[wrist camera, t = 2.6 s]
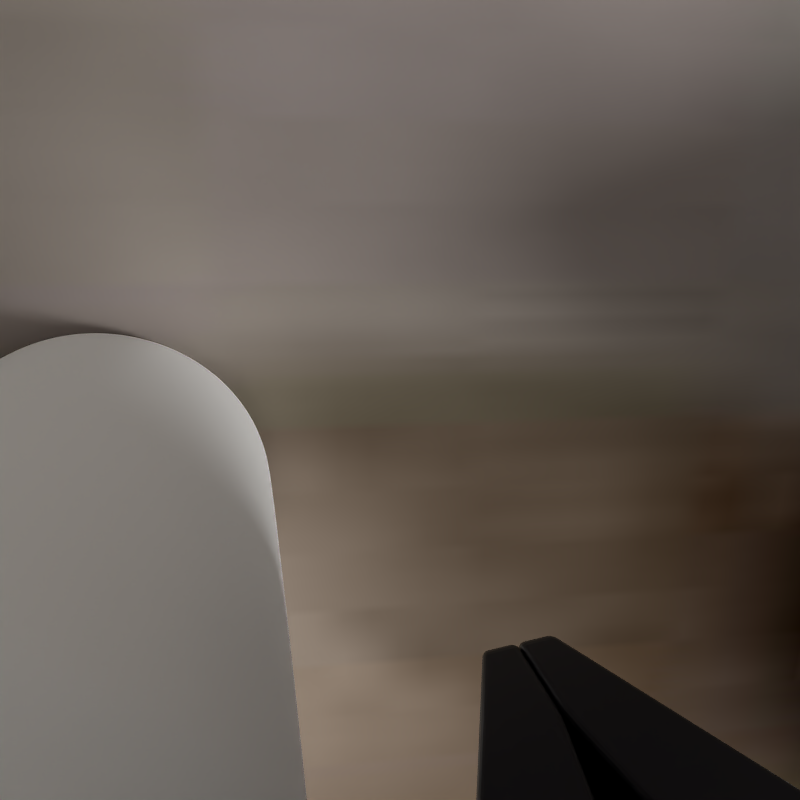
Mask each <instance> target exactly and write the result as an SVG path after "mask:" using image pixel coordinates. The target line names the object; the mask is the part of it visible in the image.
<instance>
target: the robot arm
mask: <svg viewBox="0 0 800 800" xmlns="http://www.w3.org/2000/svg"><path fill="white" fill-rule="evenodd" d="M476 800H800V790H799V789H797V788H796V787H794V786H792V785H791V784H789V783H788V782H786V781H785V780H783V779H781V778H780V777H778V776H777V775H775V774H773V773H772V772H770V771H769V770H767V769H765V768H764V767H762V766H761V765H759V764H757V763H756V762H754V761H753V760H751V759H749V758H748V757H746V756H745V755H743V754H741V753H740V752H738V751H737V750H735V749H733V748H732V747H730V746H729V745H727V744H725V743H724V742H722V741H721V740H719V739H717V738H716V737H714V736H713V735H711V734H709V733H708V732H706V731H705V730H703V729H701V728H700V727H698V726H697V725H695V724H693V723H692V722H690V721H689V720H687V719H685V718H684V717H682V716H681V715H679V714H677V713H676V712H674V711H673V710H671V709H669V708H668V707H666V706H665V705H663V704H661V703H660V702H658V701H657V700H655V699H653V698H652V697H650V696H649V695H647V694H645V693H644V692H642V691H641V690H639V689H637V688H636V687H634V686H633V685H631V684H629V683H628V682H626V681H625V680H623V679H621V678H620V677H618V676H617V675H615V674H613V673H612V672H610V671H609V670H607V669H605V668H604V667H602V666H601V665H599V664H597V663H596V662H594V661H593V660H591V659H589V658H588V657H586V656H585V655H583V654H581V653H580V652H578V651H577V650H575V649H573V648H572V647H570V646H569V645H567V644H565V643H564V642H562V641H561V640H559V639H557V638H555V637H552V636H546V637H542V638H538V639H533V640H529V641H525V642H522V643H521V644H520V646H519V648H518V647H517V646H515V645H509V646H505V647H500V648H496V649H492V650H488V651H486V652H485V653H484V655H483V660H482V682H481V705H480V728H479V752H478V775H477V798H476Z"/></svg>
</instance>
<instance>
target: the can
mask: <svg viewBox="0 0 800 800" xmlns="http://www.w3.org/2000/svg"><path fill="white" fill-rule="evenodd" d="M0 800H307V798H306V788H305V778H304V768H303V758H302V749H301V740H300V730H299V721H298V712H297V702H296V693H295V684H294V675H293V665H292V656H291V647H290V639H289V630H288V621H287V612H286V603H285V594H284V585H283V576H282V568H281V559H280V550H279V542H278V533H277V525H276V517H275V508H274V500H273V493H272V486H271V478H270V472H269V466H268V461H267V457H266V453H265V449H264V446H263V443H262V441H261V438H260V435H259V433H258V431H257V428H256V426H255V424H254V422H253V420H252V419H251V417H250V415H249V414H248V412H247V410H246V409H245V407H244V406H243V404H242V403H241V402H240V401H239V399H238V398H237V397H236V396H235V394H234V393H233V392H232V391H231V390H230V389H229V388H228V387H227V386H226V385H225V384H224V383H223V382H222V381H221V380H220V379H219V378H218V377H217V376H215V375H214V374H213V373H212V372H210V371H209V370H208V369H206V368H205V367H204V366H202V365H201V364H199V363H198V362H196V361H195V360H193V359H191V358H189V357H188V356H186V355H184V354H182V353H180V352H178V351H176V350H174V349H171V348H169V347H166V346H164V345H161V344H158V343H155V342H152V341H149V340H145V339H141V338H136V337H131V336H125V335H118V334H107V333H86V334H74V335H66V336H60V337H55V338H51V339H47V340H43V341H40V342H37V343H34V344H31V345H28V346H26V347H23V348H21V349H19V350H16V351H14V352H12V353H10V354H8V355H6V356H4V357H2V358H1V359H0Z"/></svg>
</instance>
